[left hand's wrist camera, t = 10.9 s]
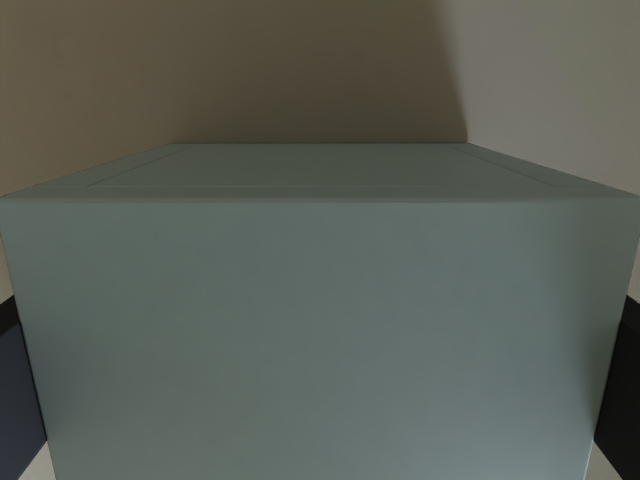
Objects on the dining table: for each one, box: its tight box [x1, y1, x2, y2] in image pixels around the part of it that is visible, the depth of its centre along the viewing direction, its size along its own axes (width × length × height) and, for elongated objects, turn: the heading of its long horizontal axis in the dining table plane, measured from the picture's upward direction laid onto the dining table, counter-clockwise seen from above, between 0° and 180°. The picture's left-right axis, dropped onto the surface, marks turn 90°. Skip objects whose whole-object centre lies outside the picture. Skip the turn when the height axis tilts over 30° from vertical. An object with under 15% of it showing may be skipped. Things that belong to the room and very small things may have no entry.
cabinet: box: [0, 143, 640, 480], centre depth 15 cm, size 19×11×9 cm, turn 0°
